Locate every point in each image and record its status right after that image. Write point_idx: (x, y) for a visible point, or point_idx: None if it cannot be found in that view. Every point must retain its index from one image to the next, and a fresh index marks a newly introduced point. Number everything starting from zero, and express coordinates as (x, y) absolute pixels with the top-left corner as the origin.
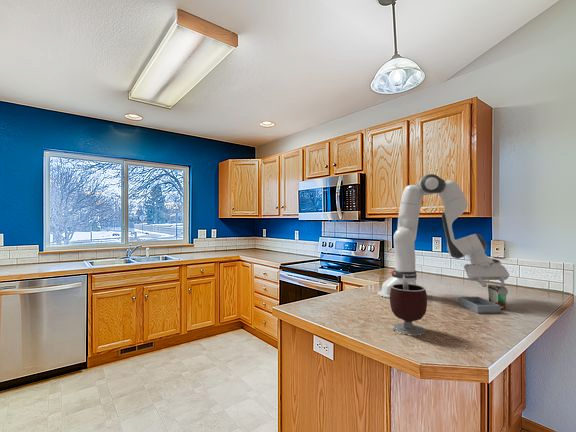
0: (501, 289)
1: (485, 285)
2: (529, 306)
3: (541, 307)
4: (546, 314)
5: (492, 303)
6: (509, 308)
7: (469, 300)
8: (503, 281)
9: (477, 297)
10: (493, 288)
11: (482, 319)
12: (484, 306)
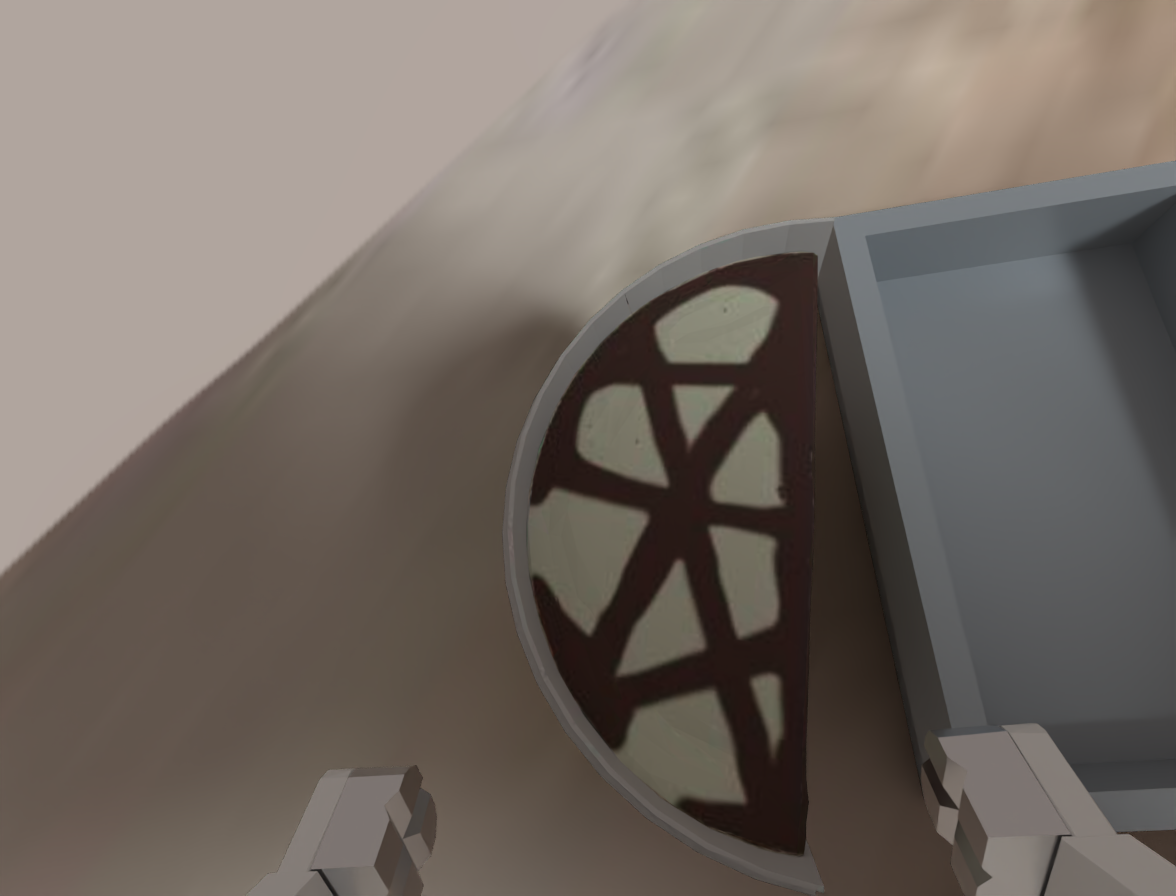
0: (642, 443)
1: (979, 730)
2: (230, 640)
3: (125, 598)
4: (308, 310)
5: (889, 347)
6: None
7: (1160, 770)
8: (272, 890)
9: None
10: (814, 499)
11: (1151, 22)
12: (1091, 181)
